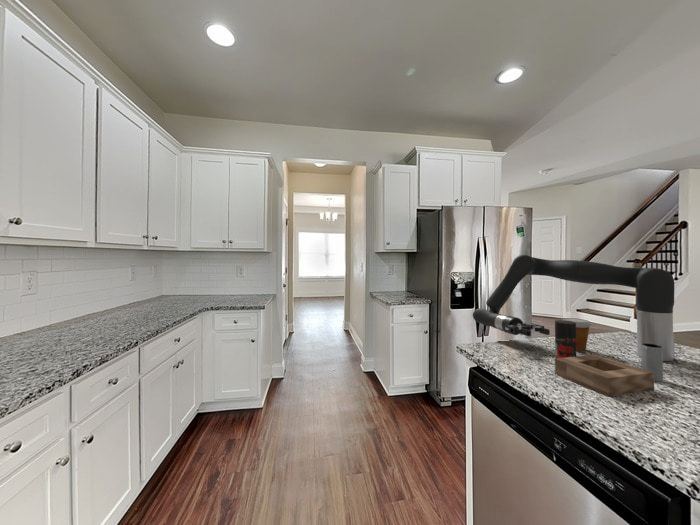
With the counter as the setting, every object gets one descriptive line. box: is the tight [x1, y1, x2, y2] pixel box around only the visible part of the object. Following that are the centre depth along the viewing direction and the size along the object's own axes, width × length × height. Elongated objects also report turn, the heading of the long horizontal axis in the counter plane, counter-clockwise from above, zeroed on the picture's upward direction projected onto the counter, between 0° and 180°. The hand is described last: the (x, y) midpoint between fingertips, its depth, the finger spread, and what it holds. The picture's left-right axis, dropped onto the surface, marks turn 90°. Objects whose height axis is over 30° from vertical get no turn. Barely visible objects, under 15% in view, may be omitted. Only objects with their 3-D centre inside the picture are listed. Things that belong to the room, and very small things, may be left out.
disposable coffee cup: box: [562, 317, 591, 352], centre depth 118 cm, size 10×10×12 cm
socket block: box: [554, 354, 655, 398], centre depth 87 cm, size 16×16×5 cm
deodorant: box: [554, 319, 577, 360], centre depth 101 cm, size 6×6×15 cm
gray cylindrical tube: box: [640, 343, 664, 383], centre depth 88 cm, size 4×4×10 cm
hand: (539, 333), depth 111 cm, fingers open, 8 cm apart
